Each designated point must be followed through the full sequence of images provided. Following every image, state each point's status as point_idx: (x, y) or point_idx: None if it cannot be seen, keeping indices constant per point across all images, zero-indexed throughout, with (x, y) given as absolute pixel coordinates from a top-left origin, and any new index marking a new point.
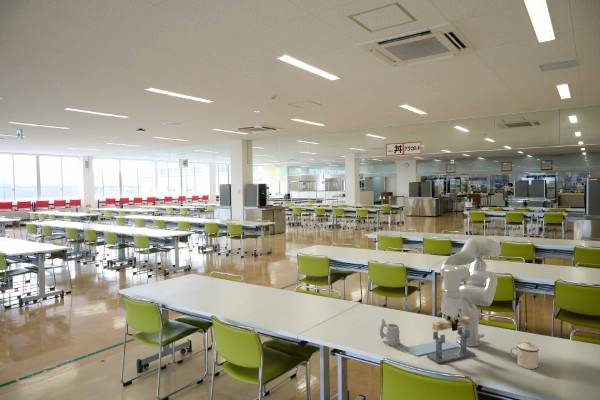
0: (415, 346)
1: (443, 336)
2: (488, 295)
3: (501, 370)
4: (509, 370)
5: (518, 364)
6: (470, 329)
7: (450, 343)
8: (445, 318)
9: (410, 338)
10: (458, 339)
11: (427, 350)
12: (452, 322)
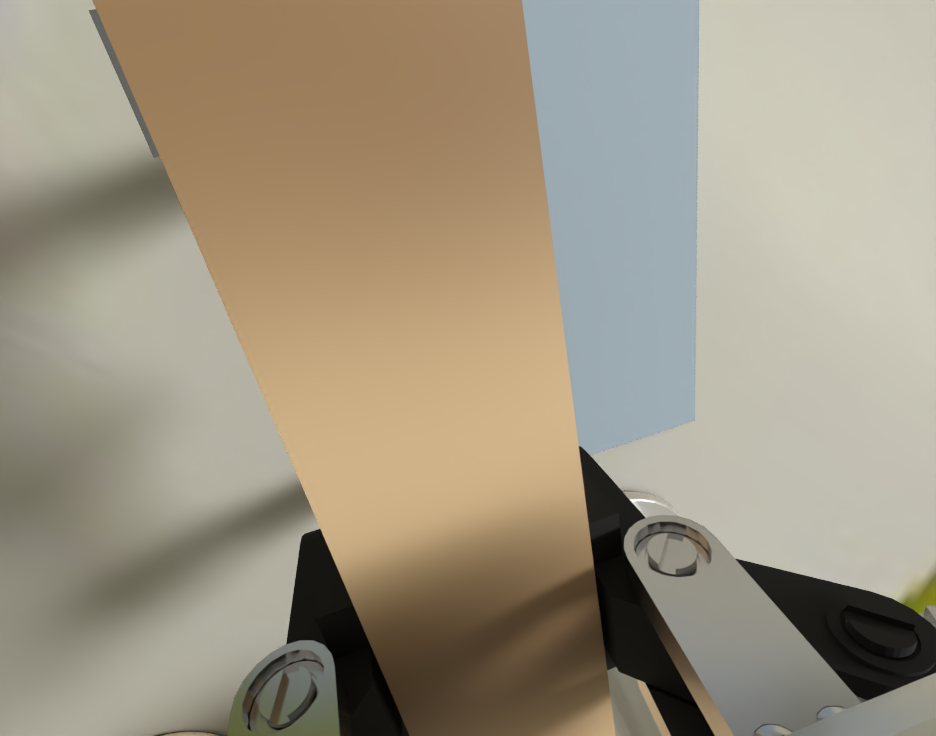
0: (676, 21)
1: (134, 98)
2: None
3: (57, 602)
4: (63, 654)
5: (176, 733)
6: (616, 680)
7: (617, 428)
8: (710, 543)
9: (852, 116)
10: (646, 515)
11: (548, 112)
12: (375, 637)
